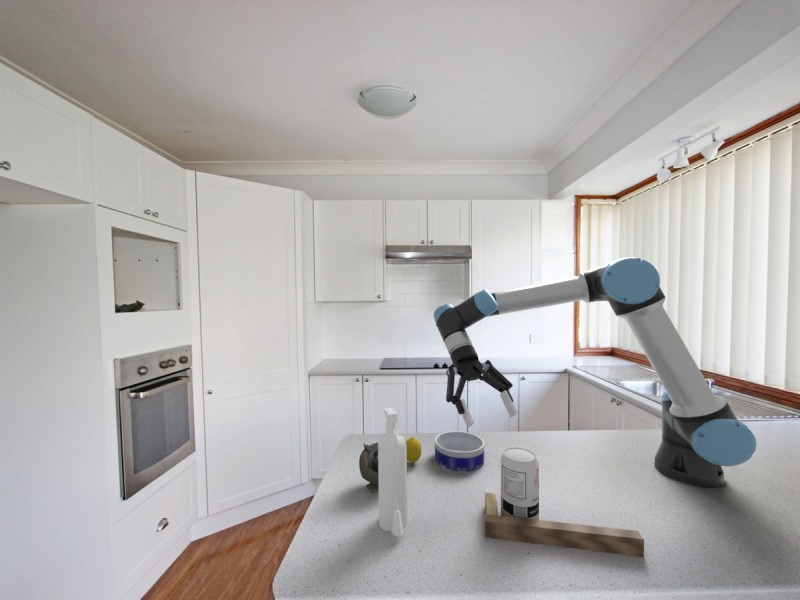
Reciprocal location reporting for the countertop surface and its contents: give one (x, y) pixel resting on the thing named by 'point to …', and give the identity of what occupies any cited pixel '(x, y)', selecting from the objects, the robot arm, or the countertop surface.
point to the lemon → (413, 449)
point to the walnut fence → (560, 533)
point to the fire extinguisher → (392, 477)
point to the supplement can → (519, 484)
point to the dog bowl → (459, 451)
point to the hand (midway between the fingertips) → (493, 420)
